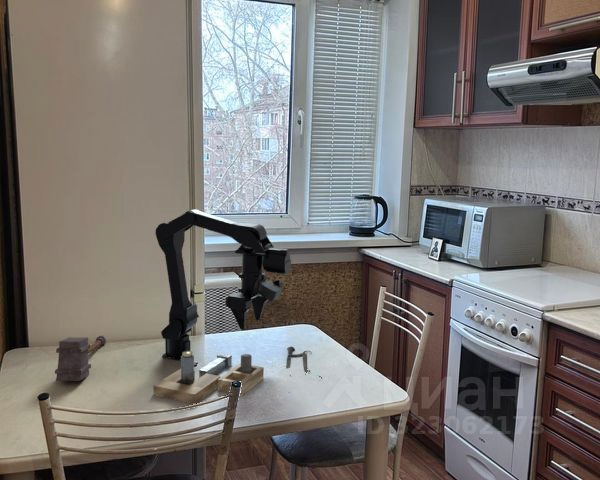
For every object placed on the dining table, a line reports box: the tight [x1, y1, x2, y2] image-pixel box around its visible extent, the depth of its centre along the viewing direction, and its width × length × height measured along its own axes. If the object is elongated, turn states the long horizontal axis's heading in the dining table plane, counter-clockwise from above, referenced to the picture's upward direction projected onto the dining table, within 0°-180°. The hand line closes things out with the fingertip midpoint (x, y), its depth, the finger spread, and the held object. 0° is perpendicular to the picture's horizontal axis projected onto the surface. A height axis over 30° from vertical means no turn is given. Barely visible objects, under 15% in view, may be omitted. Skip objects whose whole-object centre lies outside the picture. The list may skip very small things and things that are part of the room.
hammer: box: [54, 335, 107, 382], centre depth 163 cm, size 7×33×10 cm, turn 4°
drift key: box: [198, 352, 233, 379], centre depth 159 cm, size 4×12×3 cm, turn 158°
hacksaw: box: [285, 346, 323, 380], centre depth 166 cm, size 24×10×2 cm, turn 179°
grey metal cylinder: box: [180, 350, 195, 385], centre depth 146 cm, size 3×3×10 cm
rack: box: [217, 353, 265, 397], centre depth 150 cm, size 7×12×7 cm, turn 158°
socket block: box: [152, 368, 221, 404], centre depth 146 cm, size 12×12×2 cm
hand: (250, 324), depth 162 cm, fingers open, 9 cm apart
